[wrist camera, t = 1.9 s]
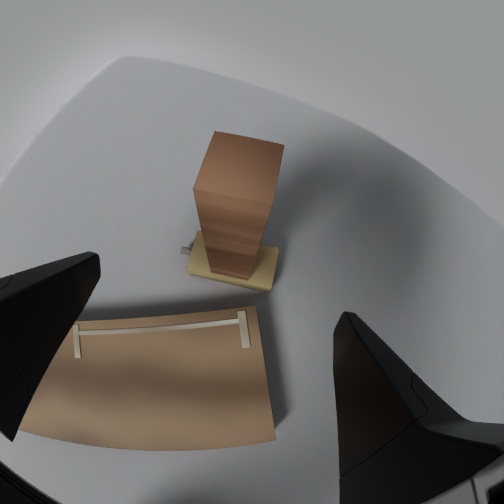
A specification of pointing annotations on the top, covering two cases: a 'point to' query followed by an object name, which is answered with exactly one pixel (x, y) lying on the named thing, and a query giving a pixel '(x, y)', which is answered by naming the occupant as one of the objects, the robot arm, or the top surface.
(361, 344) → the robot arm
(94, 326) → the tan wooden flat board
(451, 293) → the top surface
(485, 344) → the top surface
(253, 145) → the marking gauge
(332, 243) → the top surface
